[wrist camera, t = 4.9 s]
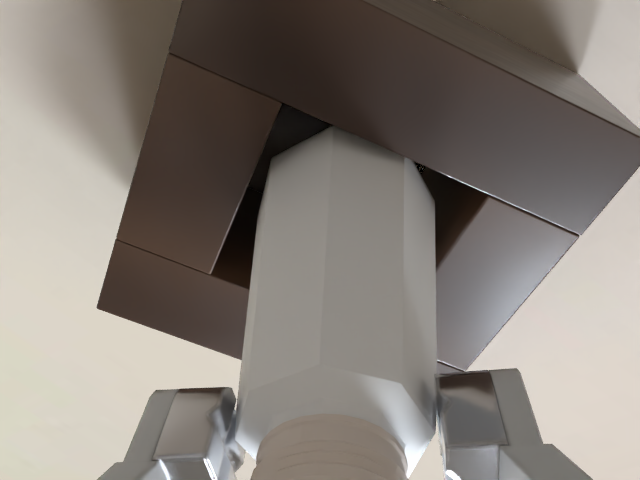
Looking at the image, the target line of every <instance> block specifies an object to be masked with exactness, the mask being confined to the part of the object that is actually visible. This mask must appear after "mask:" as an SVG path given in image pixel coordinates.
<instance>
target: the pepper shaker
mask: <svg viewBox="0 0 640 480" xmlns="http://www.w3.org/2000/svg"><path fill="white" fill-rule="evenodd" d="M434 374H437V338H436V257H435V201H434V199H433V197H432V195H431V193H430V191H429V189H428V188H427V186H426V184H425V182H424V180H423V178H422V176H421V174H420V172H419V171H418V169H417V167H416V165H415V163H414V161H413V160H410V159H408V158H406V157H404V156H401V155H399V154H397V153H395V152H392V151H390V150H388V149H386V148H383V147H381V146H379V145H377V144H374V143H372V142H370V141H368V140H365V139H363V138H361V137H359V136H356V135H354V134H352V133H350V132H347V131H345V130H343V129H341V128H338V127H336V126H334V125H333V126H331V127H329V128H327V129H325V130H323V131H321V132H319V133H318V134H316V135H314V136H312V137H310V138H308V139H306V140H304V141H302V142H300V143H299V144H297V145H295V146H293V147H291V148H289V149H287V150H285V151H283V152H281V153H280V154H278V155H276V156H274V157H272V158H271V162H270V166H269V171H268V175H267V179H266V183H265V188H264V192H263V196H262V200H261V205H260V209H259V213H258V218H257V227H256V236H255V245H254V254H253V263H252V272H251V281H250V290H249V299H248V308H247V317H246V327H245V336H244V345H243V354H242V363H241V372H240V381H239V390H238V399H237V409H236V430H235V440H236V441H237V442H238V443H239V444H240V445H241V446H242V447H243V448H244V449H245V450H246V451H247V452H248V453H249V454H250V455H251V456H252V457H253V458H254V459H255V460H256V464H257V466H256V468H255V469H254V470H253V473H252V476H251V479H250V480H408V478H409V476H410V474H411V472H412V471H413V469H414V467H415V466H416V464H417V462H418V461H419V459H420V457H421V456H422V454H423V452H424V451H425V449H426V447H427V446H428V444H429V442H430V441H431V439H432V437H433V436H434V434H435V431H436V413H437V404H436V396H435V388H434Z"/></svg>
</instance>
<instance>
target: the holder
mask: <svg viewBox="0 0 640 480" xmlns="http://www.w3.org/2000/svg"><path fill="white" fill-rule="evenodd" d="M282 103H285V104H287V105H289V106H291V107H294V108H296V109H298V110H300V111H302V112H305V113H307V114H309V115H311V116H314V117H316V118H318V119H320V120H323V121H325V122H327V123H329V124H332V125H334V126H336V127H338V128H341V129H343V130H345V131H347V132H350V133H352V134H354V135H356V136H359V137H361V138H363V139H365V140H368V141H370V142H372V143H374V144H377V145H379V146H381V147H383V148H386V149H388V150H390V151H392V152H395V153H397V154H399V155H401V156H404V157H406V158H408V159H410V160H413V161H415V162H417V163H419V164H422V165H424V166H426V169H425V170H424V172H423V173H422V175H421V176H422V178H423V180H424V182H425V184H426V186H427V188H428V189H429V191H430V193H431V195H432V197H433V199H434V201H435V257H436V338H437V374H440V373H454V372H465V370H467V368H468V367H469V366H470V365H471V364H472V363H473V361H474V360H475V359H476V358H477V357H478V356H479V354H480V353H481V352H482V351H483V350H484V348H485V347H486V346H487V345H488V344H489V343H490V341H491V340H492V339H493V338H494V337H495V336H496V334H497V333H498V332H499V331H500V330H501V328H502V327H503V326H504V325H505V324H506V323H507V321H508V320H509V319H510V318H511V317H512V315H513V314H514V313H515V312H516V311H517V310H518V308H519V307H520V306H521V305H522V304H523V303H524V301H525V300H526V299H527V298H528V297H529V295H530V294H531V293H532V292H533V291H534V290H535V288H536V287H537V286H538V285H539V284H540V283H541V281H542V280H543V279H544V278H545V277H546V275H547V274H548V273H549V272H550V271H551V270H552V268H553V267H554V266H555V265H556V264H557V263H558V261H559V260H560V259H561V258H562V257H563V255H564V254H565V253H566V252H567V251H568V250H569V248H570V247H571V246H572V245H573V244H574V243H575V241H576V240H577V239H578V238H579V235H582V234H583V232H584V231H585V230H586V229H587V228H588V227H589V225H590V224H591V223H592V222H593V221H594V220H595V218H596V217H597V216H598V215H599V214H600V213H601V211H602V210H603V209H604V208H605V207H606V205H607V204H608V203H609V202H610V201H611V200H612V198H613V197H614V196H615V195H616V194H617V193H618V191H619V190H620V189H621V188H622V187H623V185H624V184H625V183H626V182H627V181H628V180H629V178H630V177H631V176H632V175H633V174H634V173H635V171H636V170H637V169H638V168H639V167H640V129H639V128H638V127H637V126H636V125H634V124H633V123H632V122H631V121H630V120H629V119H628V118H627V117H626V116H624V115H623V114H622V113H621V112H620V111H619V110H618V109H617V108H616V107H615V106H613V105H612V104H611V103H610V102H609V101H608V100H607V99H606V98H605V97H603V96H602V95H601V94H600V93H599V92H598V91H597V90H596V89H595V88H594V87H592V86H591V85H590V84H589V83H588V82H587V81H586V80H585V79H584V78H582V77H581V76H580V75H579V74H577V73H575V72H573V71H571V70H569V69H567V68H565V67H563V66H561V65H559V64H557V63H555V62H553V61H551V60H549V59H547V58H545V57H543V56H541V55H539V54H537V53H535V52H533V51H531V50H529V49H527V48H525V47H523V46H521V45H519V44H517V43H515V42H513V41H511V40H509V39H507V38H505V37H503V36H501V35H499V34H497V33H495V32H493V31H491V30H489V29H487V28H485V27H483V26H481V25H480V24H478V23H476V22H474V21H472V20H470V19H468V18H466V17H464V16H462V15H460V14H458V13H456V12H454V11H452V10H450V9H448V8H446V7H444V6H442V5H440V4H438V3H436V2H434V1H432V0H183V1H182V5H181V8H180V12H179V15H178V19H177V22H176V26H175V29H174V33H173V37H172V40H171V44H170V47H169V53H168V55H167V58H166V62H165V66H164V69H163V73H162V76H161V80H160V83H159V87H158V91H157V94H156V98H155V101H154V105H153V108H152V112H151V115H150V119H149V123H148V126H147V130H146V133H145V137H144V140H143V144H142V148H141V151H140V155H139V158H138V162H137V165H136V169H135V173H134V176H133V180H132V183H131V187H130V190H129V194H128V197H127V201H126V205H125V208H124V212H123V215H122V219H121V222H120V226H119V230H118V233H117V238H116V240H115V244H114V247H113V251H112V254H111V258H110V261H109V265H108V269H107V272H106V276H105V279H104V283H103V286H102V290H101V293H100V297H99V301H98V304H97V309H99V310H102V311H105V312H108V313H111V314H114V315H116V316H119V317H122V318H125V319H128V320H130V321H133V322H136V323H139V324H142V325H144V326H147V327H150V328H153V329H156V330H158V331H161V332H164V333H167V334H170V335H173V336H175V337H178V338H181V339H184V340H187V341H189V342H192V343H195V344H198V345H201V346H203V347H206V348H209V349H212V350H215V351H217V352H220V353H223V354H226V355H229V356H231V357H234V358H237V359H240V360H242V354H243V345H244V336H245V327H246V317H247V308H248V299H249V290H250V281H251V272H252V263H253V254H254V245H255V236H256V227H257V218H258V213H259V209H260V205H261V200H262V196H263V193H261V192H258V191H256V190H253V189H251V188H248V184H249V182H250V180H251V177H252V175H253V172H254V170H255V168H256V165H257V163H258V160H259V158H260V156H261V153H262V151H263V148H264V146H265V144H266V141H267V139H268V136H269V134H270V132H271V129H272V127H273V124H274V122H275V120H276V117H277V115H278V112H279V110H280V108H281V105H282Z"/></svg>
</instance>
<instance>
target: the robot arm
mask: <svg viewBox="0 0 640 480" xmlns="http://www.w3.org/2000/svg"><path fill="white" fill-rule="evenodd" d="M434 388H435V396H436V404H437V413H436V415H437V428H438V437H439V444H440V452H441V456H442V458H443V472H444V480H593V479H592V478H591V477H590V476H588V475H587V474H586V473H585V472H584V471H583V470H582V469H580V468H579V467H578V466H577V465H576V464H575V463H574V462H572V461H571V460H570V459H569V458H568V457H567V456H565V455H564V454H563V453H562V452H561V451H560V450H559V449H557V448H556V447H555V446H554V445H553V444H543V442H542V438H541V435H540V432H539V429H538V426H537V423H536V420H535V417H534V413H533V410H532V407H531V404H530V401H529V398H528V395H527V392H526V389H525V385H524V382H523V379H522V376H521V373H520V372H519V370H518V369H517V368H514V369H499V370H489V371H488V370H482V371H468V372H454V373H440V374H434ZM235 403H236V398H235V395H234V393H233V390H232V388H229V387H218V388H189V389H172V390H156V391H155V392H154V393H153V394H152V395H151V396H150V398H149V400H148V402H147V405H146V407H145V410H144V412H143V415H142V417H141V419H140V422H139V424H138V427H137V429H136V432H135V434H134V437H133V439H132V441H131V444H130V446H129V449H128V451H127V454H126V456H125V458H124V461H123V462H117V463H115V464H114V465H113V466H111V467H110V468H109V469H108V470H107V471H106V472H105V473H104V474H103V475H101V476H100V477H99V478H98V479H97V480H237V478H236V476H235V472H236V471H237V470H238V469H239V468H240V467H241V466H242V464H243V462H244V457H245V451H246V450H245V449H244V448H243V447H242V446H241V445H240V444H239V443H238V442H237V441H236V440H235V430H236V411H235V410H234V407H235Z"/></svg>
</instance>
